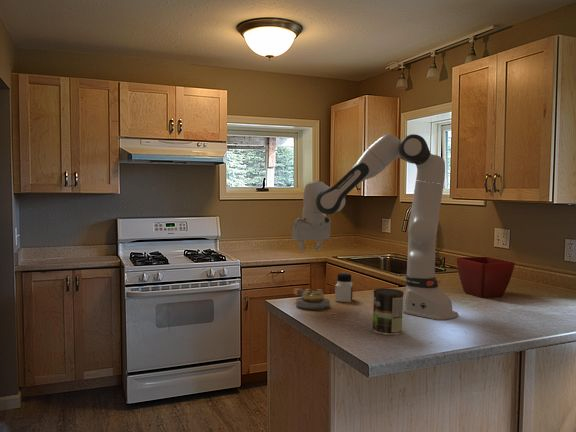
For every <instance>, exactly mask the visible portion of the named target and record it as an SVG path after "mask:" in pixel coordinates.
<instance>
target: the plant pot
mask: <svg viewBox="0 0 576 432" xmlns="http://www.w3.org/2000/svg"><path fill="white" fill-rule="evenodd" d="M515 264H516V262H514V261H509V260H506V259H505V260H504V259H499V258H495V257H490V256H469V257H467V256H465V257H464V256H463V257H456V265H457V270H458V275H459V280H460V283H461V286H462V289H463V292H464V293H465V294H469V295H472V296H475V297H478V298H481V299H482V298H483V299H484V298H498V297H499V296H500V297H503V296H504V294H505V292H506V291H507V288H508V286H509V284H510V281H511V278H512V276H513V272H514V269H515Z"/></svg>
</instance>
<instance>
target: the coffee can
mask: <svg viewBox="0 0 576 432" xmlns="http://www.w3.org/2000/svg"><path fill="white" fill-rule="evenodd" d="M403 303H404V291H402V290H400V289H396V288H375V289H374V290H373V310H372V312H373V313H372V318H373V319H372V331H373V332H374V333H375V334H378V335H383V336H397V335H401V334H402V333H403V312H404V311H403Z"/></svg>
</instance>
